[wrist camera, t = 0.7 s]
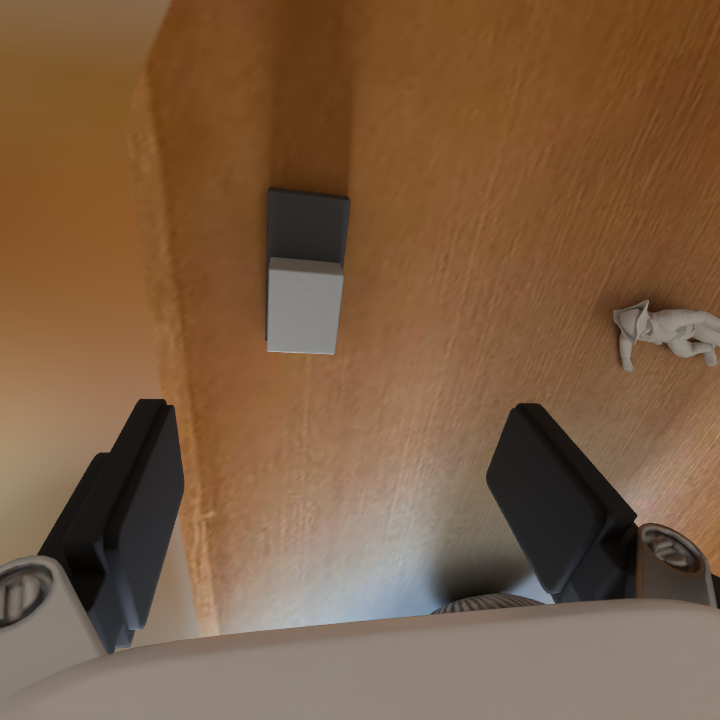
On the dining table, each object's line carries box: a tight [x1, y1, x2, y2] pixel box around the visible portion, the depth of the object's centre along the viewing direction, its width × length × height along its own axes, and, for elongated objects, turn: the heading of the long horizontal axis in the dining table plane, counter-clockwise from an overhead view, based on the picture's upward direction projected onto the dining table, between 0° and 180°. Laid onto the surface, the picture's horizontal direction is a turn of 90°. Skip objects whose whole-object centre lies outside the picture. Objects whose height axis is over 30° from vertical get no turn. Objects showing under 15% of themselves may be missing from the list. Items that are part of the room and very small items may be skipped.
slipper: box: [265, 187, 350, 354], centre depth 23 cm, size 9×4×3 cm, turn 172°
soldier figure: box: [613, 300, 720, 372], centre depth 29 cm, size 8×5×12 cm
